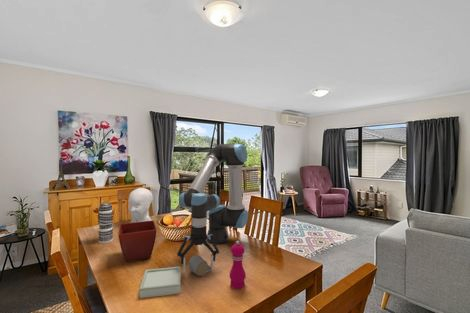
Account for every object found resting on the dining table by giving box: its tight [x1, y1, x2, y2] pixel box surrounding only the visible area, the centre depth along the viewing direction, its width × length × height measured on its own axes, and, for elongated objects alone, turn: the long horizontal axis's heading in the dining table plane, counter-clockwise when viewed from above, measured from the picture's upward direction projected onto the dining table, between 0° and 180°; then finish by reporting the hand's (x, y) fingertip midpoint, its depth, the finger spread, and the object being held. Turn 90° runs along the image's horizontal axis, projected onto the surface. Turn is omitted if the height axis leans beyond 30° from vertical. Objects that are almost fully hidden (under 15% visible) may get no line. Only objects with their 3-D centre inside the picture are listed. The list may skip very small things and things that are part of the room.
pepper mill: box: [229, 240, 246, 290], centre depth 106 cm, size 7×7×20 cm
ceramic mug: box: [187, 254, 212, 277], centre depth 118 cm, size 11×8×8 cm
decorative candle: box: [97, 202, 114, 244], centre depth 159 cm, size 9×9×25 cm
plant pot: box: [117, 220, 157, 263], centre depth 136 cm, size 19×19×17 cm
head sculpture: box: [128, 187, 154, 223], centre depth 194 cm, size 20×23×30 cm
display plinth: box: [139, 266, 181, 299], centre depth 106 cm, size 16×16×4 cm
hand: (198, 268), depth 117 cm, fingers open, 13 cm apart
